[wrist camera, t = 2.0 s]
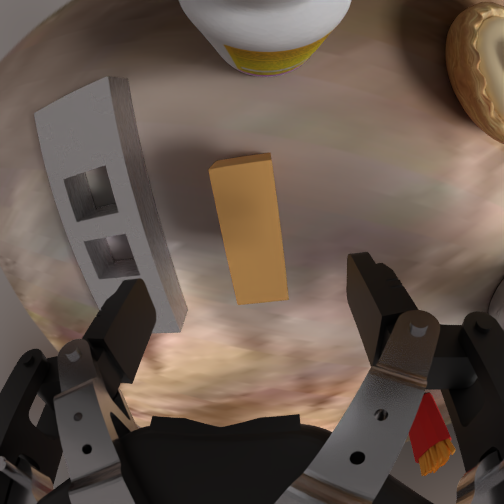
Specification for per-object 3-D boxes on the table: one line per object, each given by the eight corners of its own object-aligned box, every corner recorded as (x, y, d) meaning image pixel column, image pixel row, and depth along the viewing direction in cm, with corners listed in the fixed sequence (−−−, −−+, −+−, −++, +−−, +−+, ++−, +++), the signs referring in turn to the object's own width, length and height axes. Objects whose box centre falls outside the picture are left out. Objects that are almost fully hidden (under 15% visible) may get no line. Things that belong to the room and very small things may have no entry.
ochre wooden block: (268, 144, 19) (271, 159, 13) (282, 248, 22) (288, 299, 17) (225, 150, 19) (208, 169, 13) (244, 253, 23) (237, 304, 17)
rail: (127, 78, 16) (107, 76, 14) (188, 309, 25) (180, 332, 23) (57, 109, 17) (33, 113, 14) (123, 313, 26) (112, 333, 24)
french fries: (419, 415, 35) (437, 474, 25) (398, 420, 36) (415, 482, 25) (438, 385, 32) (464, 452, 21) (416, 391, 32) (440, 462, 21)
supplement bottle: (334, 41, 15) (430, -31, 4) (262, 97, 17) (260, 72, 6) (266, -20, 13) (268, -138, 1) (194, 34, 15) (101, -45, 4)
